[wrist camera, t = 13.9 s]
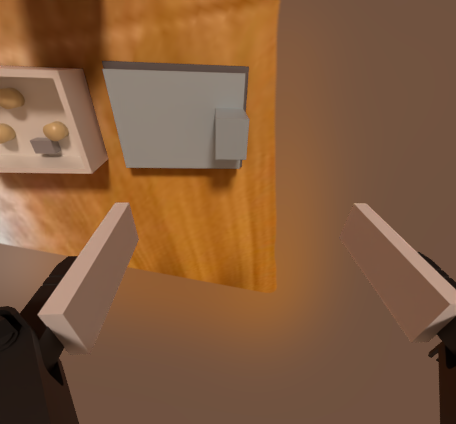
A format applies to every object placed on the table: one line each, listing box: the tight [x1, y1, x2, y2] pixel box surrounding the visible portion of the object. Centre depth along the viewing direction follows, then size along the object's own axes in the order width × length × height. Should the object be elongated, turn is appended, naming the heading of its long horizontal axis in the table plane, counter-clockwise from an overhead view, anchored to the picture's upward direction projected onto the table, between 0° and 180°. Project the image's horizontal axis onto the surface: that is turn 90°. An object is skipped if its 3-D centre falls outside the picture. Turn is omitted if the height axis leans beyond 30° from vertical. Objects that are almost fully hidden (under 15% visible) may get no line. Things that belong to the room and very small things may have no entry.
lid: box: [102, 69, 249, 169], centre depth 31 cm, size 19×14×9 cm
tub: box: [0, 66, 108, 174], centre depth 31 cm, size 18×13×6 cm
